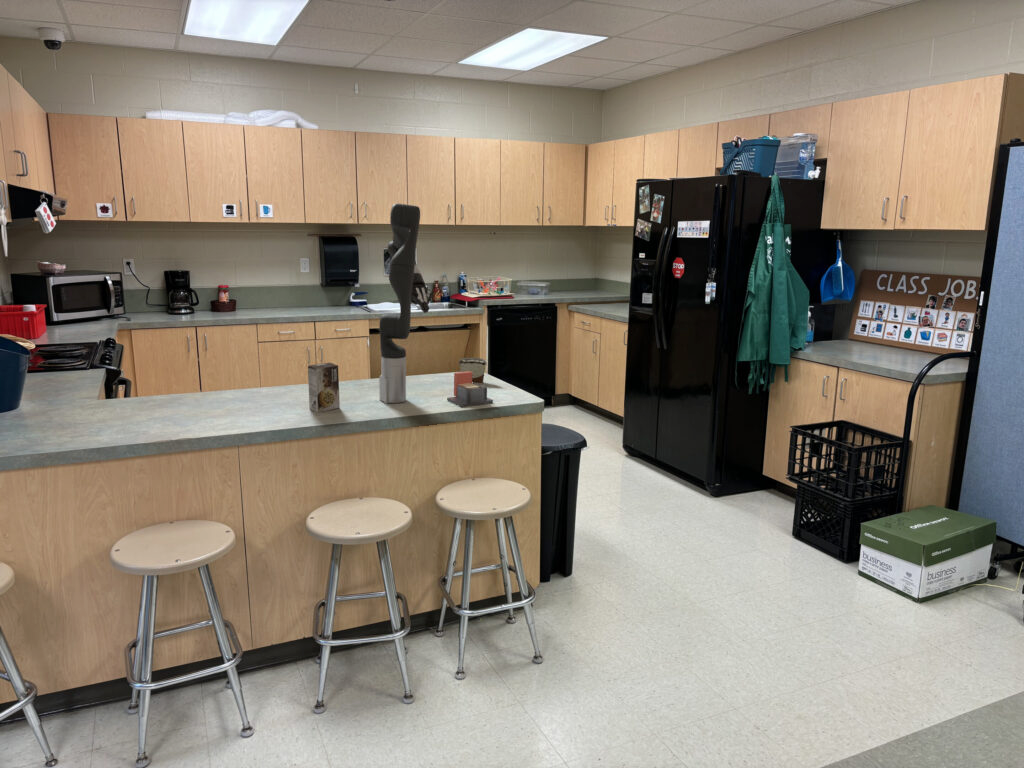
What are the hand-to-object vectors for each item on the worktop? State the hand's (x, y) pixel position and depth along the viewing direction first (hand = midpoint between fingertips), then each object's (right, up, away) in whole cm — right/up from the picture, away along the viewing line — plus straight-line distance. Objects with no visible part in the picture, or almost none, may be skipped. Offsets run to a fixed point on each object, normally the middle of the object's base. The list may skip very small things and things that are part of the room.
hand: (426, 311), depth 285 cm
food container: (+18, -28, +22) cm, 40 cm away
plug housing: (+18, -36, -11) cm, 42 cm away
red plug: (+17, -34, -10) cm, 40 cm away
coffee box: (-34, -38, -27) cm, 58 cm away
